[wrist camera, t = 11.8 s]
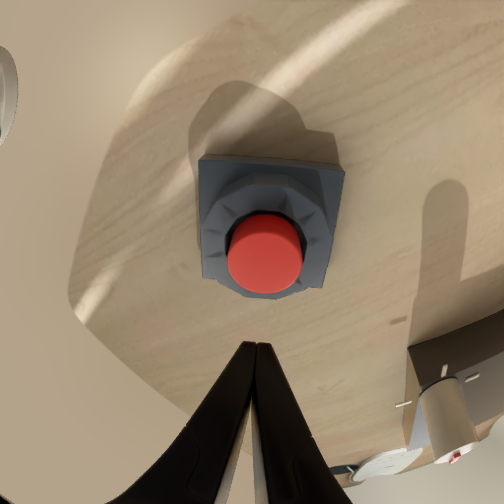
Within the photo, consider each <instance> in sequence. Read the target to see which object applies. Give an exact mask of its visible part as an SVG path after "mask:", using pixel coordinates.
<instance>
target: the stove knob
mask: <svg viewBox="0 0 504 504" xmlns="http://www.w3.org/2000/svg"><path fill="white" fill-rule="evenodd" d="M420 403H421V407H422V411H423V415H424V418H425V422H426V426H427V430H428V435H429V439H430V443H431V448H432V452H433V457H434V462H435V463H436V464H438V463H444V462H447V461H449V463H450V464H451V463H453V462H456V461H457V459H458V458H459V457H460V456H461V455H463V454H465V453H467V452H468V451H470V450H472V449H473V448H474V447H475V446H477V445H478V443H479V441H478V437H477V434H476V430H475V427H474V424H473V421H472V418H471V415H470V412H469V409H468V406H467V403H466V400H465V397H464V394H463V392H462V389H461V386H460V384H459V381H458V380H457V379H455V378H449V379H445V380H442V381H440V382H437V383H435V384H434V385H432V386H430V387H429V388H428V389H426V390H425V391H424V392H423V393H422V394H421V396H420Z"/></svg>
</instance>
